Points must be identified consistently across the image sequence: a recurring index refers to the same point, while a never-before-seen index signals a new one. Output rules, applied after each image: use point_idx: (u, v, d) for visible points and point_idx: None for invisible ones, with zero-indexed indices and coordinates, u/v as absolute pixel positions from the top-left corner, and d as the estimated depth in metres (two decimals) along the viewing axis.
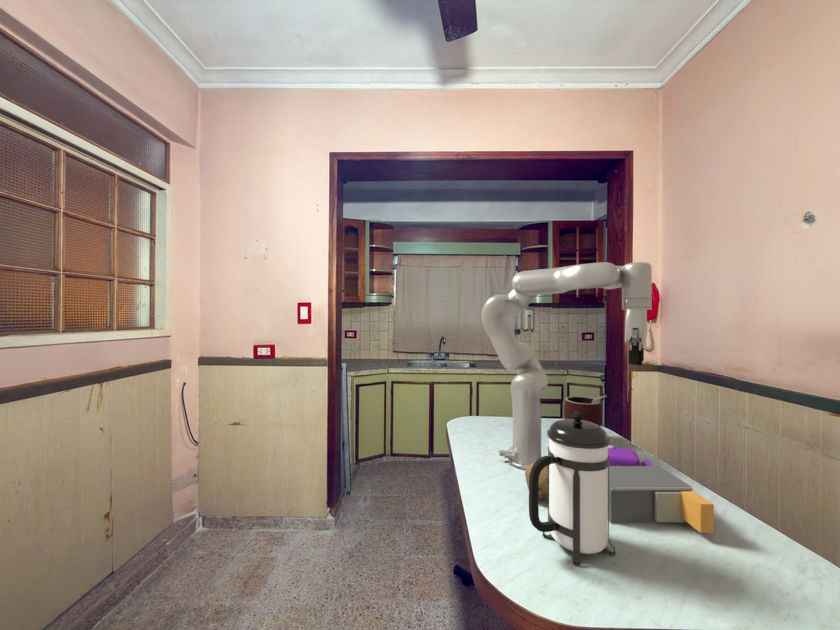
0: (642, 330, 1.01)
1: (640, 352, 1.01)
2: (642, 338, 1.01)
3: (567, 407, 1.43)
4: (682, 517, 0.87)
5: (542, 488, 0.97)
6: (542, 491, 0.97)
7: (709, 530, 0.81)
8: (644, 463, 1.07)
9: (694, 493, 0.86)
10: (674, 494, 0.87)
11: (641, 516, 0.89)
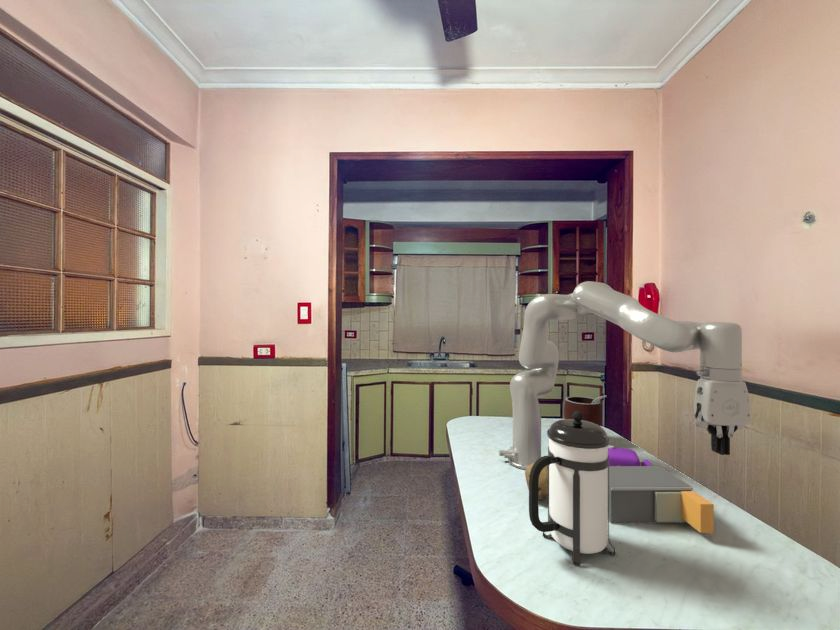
0: None
1: None
2: None
3: (567, 407, 1.43)
4: (682, 517, 0.87)
5: (542, 488, 0.97)
6: (542, 491, 0.97)
7: (709, 530, 0.81)
8: (644, 463, 1.07)
9: (694, 493, 0.86)
10: (674, 494, 0.87)
11: (641, 516, 0.89)
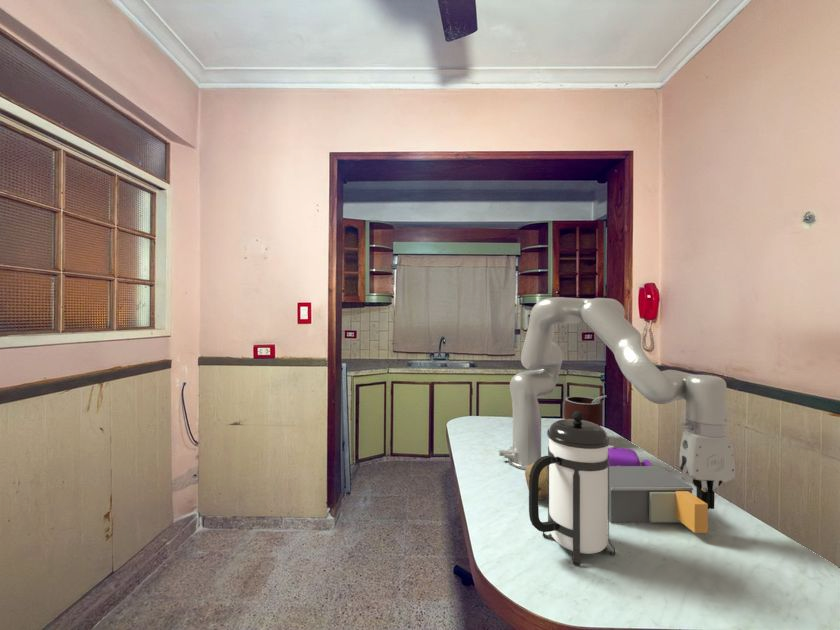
0: None
1: None
2: None
3: (567, 407, 1.43)
4: (676, 517, 0.87)
5: (542, 488, 0.97)
6: (542, 491, 0.97)
7: (703, 530, 0.81)
8: (644, 463, 1.07)
9: (688, 493, 0.86)
10: (669, 494, 0.87)
11: (641, 516, 0.89)
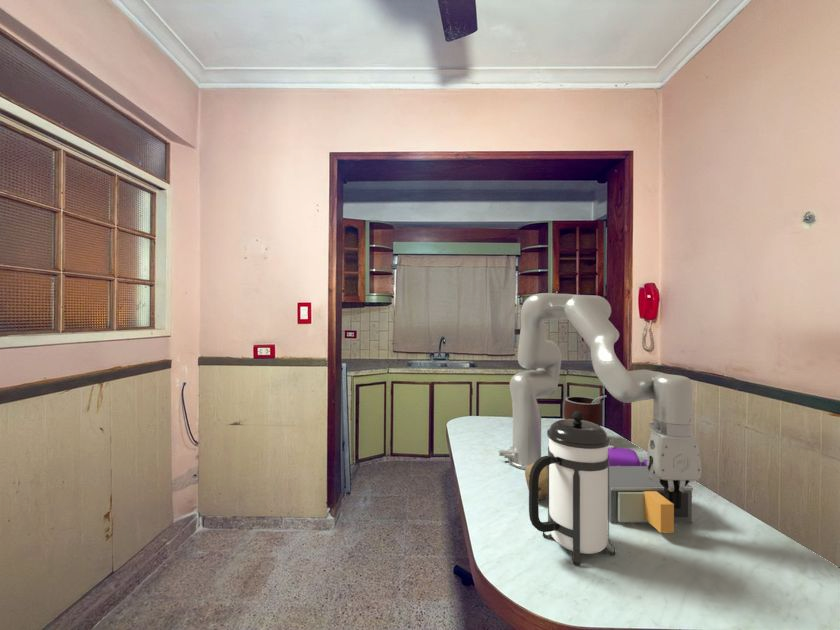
0: None
1: None
2: None
3: (567, 407, 1.43)
4: (644, 517, 0.87)
5: (542, 488, 0.97)
6: (542, 491, 0.97)
7: (669, 530, 0.81)
8: (644, 463, 1.07)
9: (656, 493, 0.86)
10: (637, 494, 0.87)
11: None
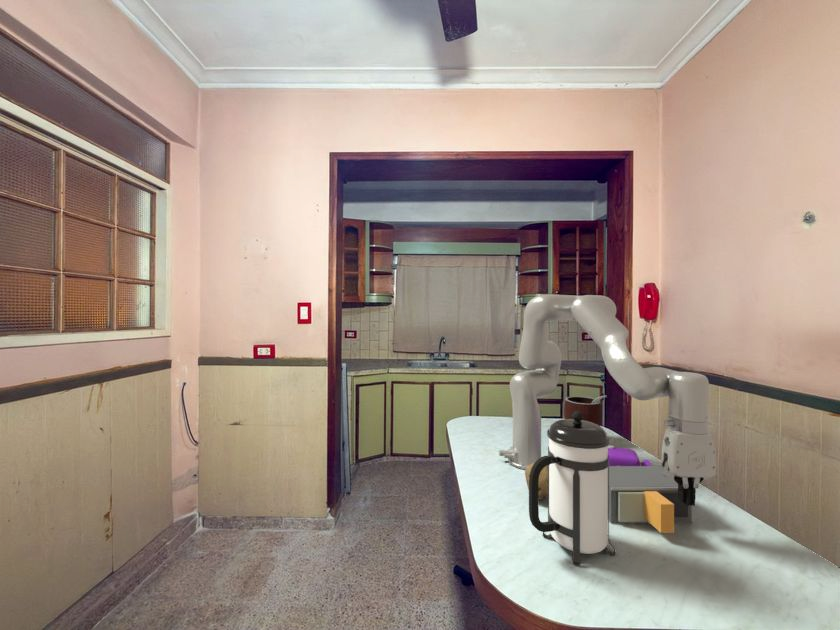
0: None
1: None
2: None
3: (567, 407, 1.43)
4: (645, 517, 0.87)
5: (542, 488, 0.97)
6: (542, 491, 0.97)
7: (669, 530, 0.81)
8: (644, 463, 1.07)
9: (657, 493, 0.86)
10: (637, 494, 0.87)
11: None
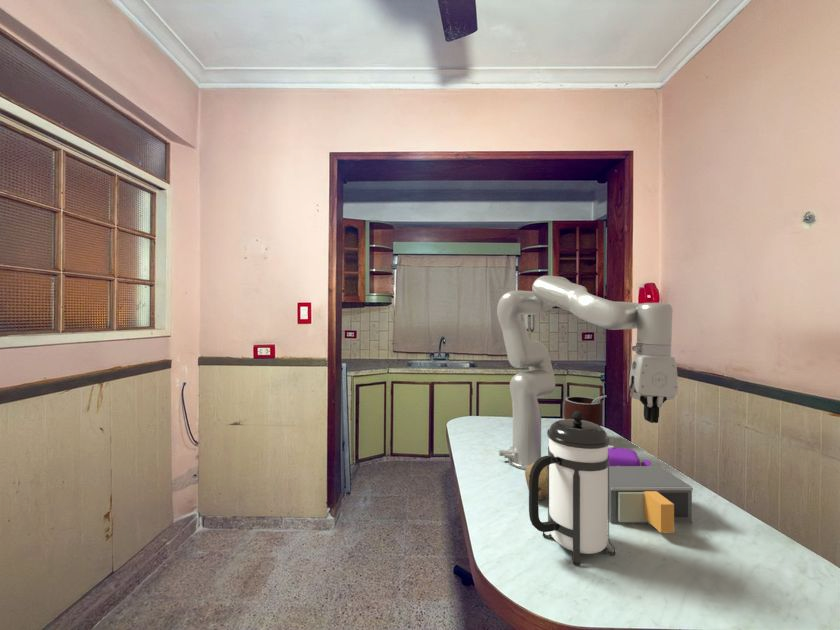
0: None
1: None
2: None
3: (567, 407, 1.43)
4: (645, 517, 0.87)
5: (542, 488, 0.97)
6: (542, 491, 0.97)
7: (669, 530, 0.81)
8: (644, 463, 1.07)
9: (657, 493, 0.86)
10: (637, 494, 0.87)
11: None
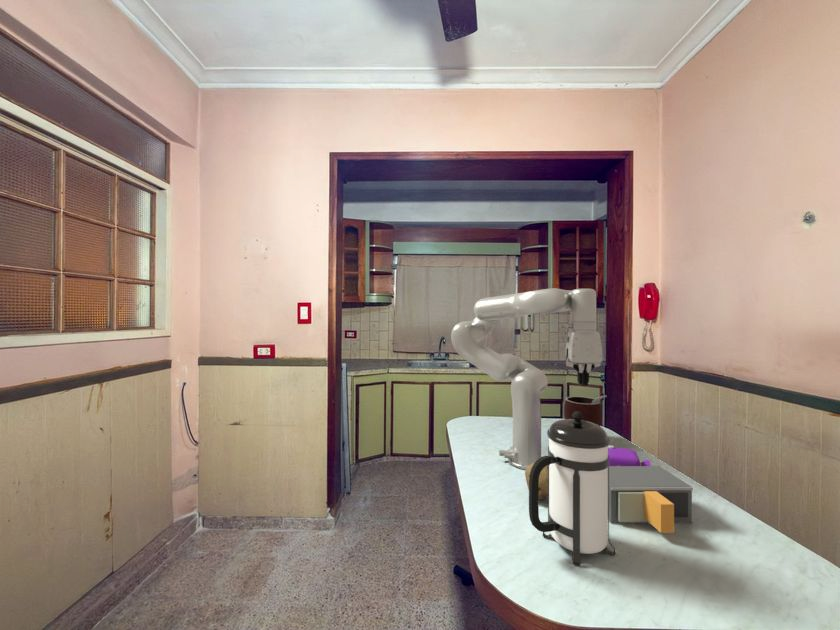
0: None
1: None
2: None
3: (567, 407, 1.43)
4: (645, 517, 0.87)
5: (542, 488, 0.97)
6: (542, 491, 0.97)
7: (669, 530, 0.81)
8: (644, 463, 1.07)
9: (657, 493, 0.86)
10: (637, 494, 0.87)
11: None
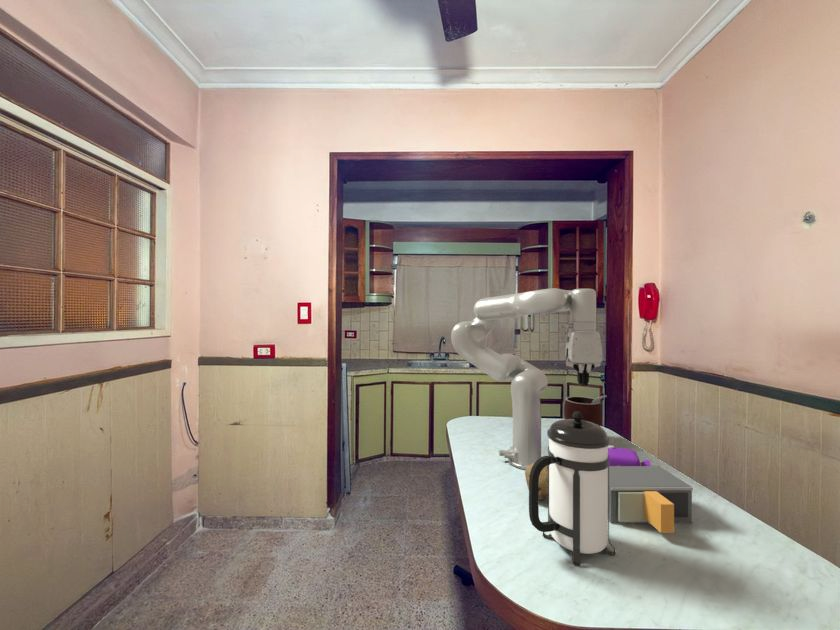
0: None
1: None
2: None
3: (567, 407, 1.43)
4: (645, 517, 0.87)
5: (542, 488, 0.97)
6: (542, 491, 0.97)
7: (669, 530, 0.81)
8: (644, 463, 1.07)
9: (657, 493, 0.86)
10: (637, 494, 0.87)
11: None
